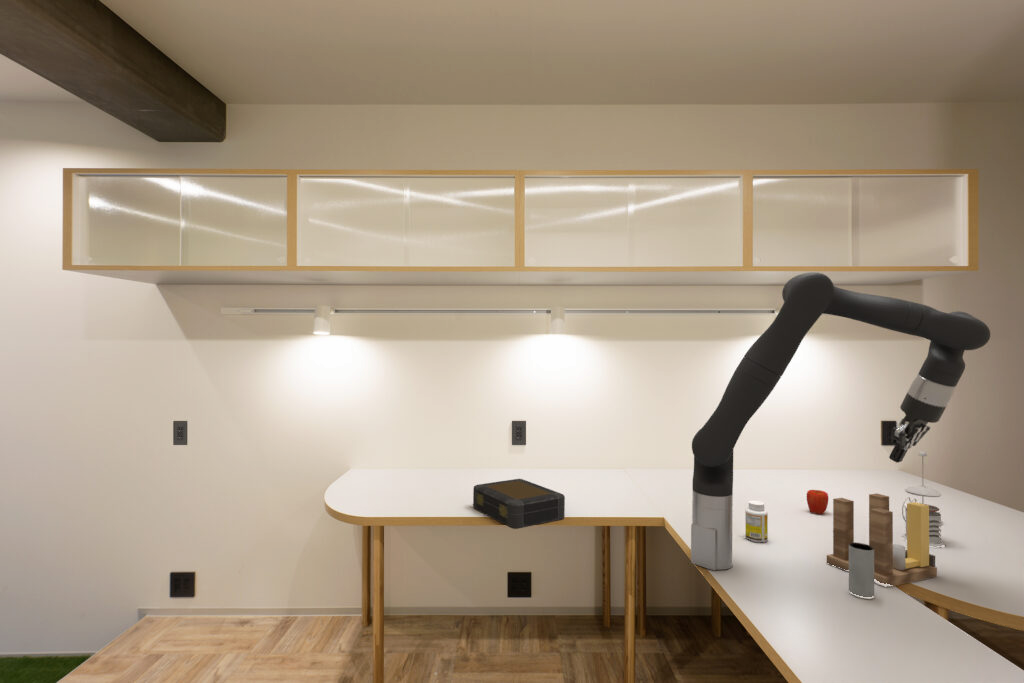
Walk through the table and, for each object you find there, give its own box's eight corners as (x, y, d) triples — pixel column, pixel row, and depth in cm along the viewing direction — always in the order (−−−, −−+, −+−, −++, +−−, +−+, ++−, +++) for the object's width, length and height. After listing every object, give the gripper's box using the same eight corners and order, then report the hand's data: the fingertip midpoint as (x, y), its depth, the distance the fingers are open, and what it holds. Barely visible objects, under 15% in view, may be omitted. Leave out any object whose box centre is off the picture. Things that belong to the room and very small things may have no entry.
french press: (955, 546, 140) (954, 454, 140) (924, 550, 136) (923, 455, 137) (917, 534, 149) (917, 447, 150) (887, 537, 146) (887, 449, 147)
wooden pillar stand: (885, 587, 113) (885, 514, 114) (826, 563, 126) (826, 498, 127) (937, 576, 120) (937, 507, 121) (876, 554, 133) (876, 492, 134)
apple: (817, 516, 164) (817, 493, 164) (801, 511, 170) (801, 488, 170) (833, 515, 166) (833, 492, 166) (817, 509, 172) (817, 487, 172)
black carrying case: (568, 519, 158) (568, 494, 158) (513, 531, 147) (513, 503, 147) (522, 499, 179) (522, 477, 179) (471, 508, 168) (471, 484, 168)
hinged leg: (902, 571, 117) (902, 509, 117) (888, 566, 120) (888, 505, 120) (929, 565, 121) (929, 505, 121) (915, 560, 123) (915, 502, 124)
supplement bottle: (760, 536, 145) (760, 499, 146) (771, 543, 140) (772, 505, 140) (741, 536, 145) (741, 499, 145) (752, 543, 139) (752, 505, 140)
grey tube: (851, 597, 109) (851, 548, 109) (846, 588, 113) (846, 541, 113) (877, 601, 107) (877, 551, 107) (870, 591, 111) (870, 544, 112)
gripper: (931, 408, 111) (896, 474, 117) (960, 402, 117) (925, 465, 124) (895, 391, 117) (864, 455, 123) (924, 387, 123) (893, 447, 130)
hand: (894, 460), depth 123 cm, fingers closed
